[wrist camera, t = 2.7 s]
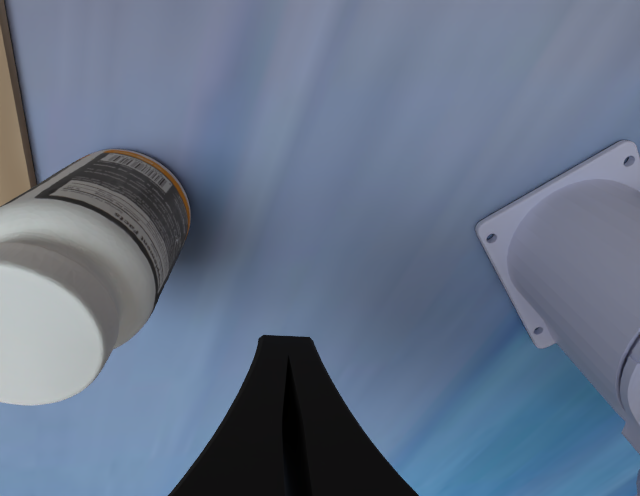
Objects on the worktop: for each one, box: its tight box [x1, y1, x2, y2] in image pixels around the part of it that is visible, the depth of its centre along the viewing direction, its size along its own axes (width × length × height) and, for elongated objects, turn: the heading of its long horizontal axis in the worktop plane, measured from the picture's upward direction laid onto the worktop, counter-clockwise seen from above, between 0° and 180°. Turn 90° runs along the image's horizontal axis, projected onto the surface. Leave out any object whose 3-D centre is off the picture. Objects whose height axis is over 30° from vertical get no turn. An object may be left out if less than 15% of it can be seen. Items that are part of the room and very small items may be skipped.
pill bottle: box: [0, 149, 191, 405], centre depth 16 cm, size 6×6×10 cm
